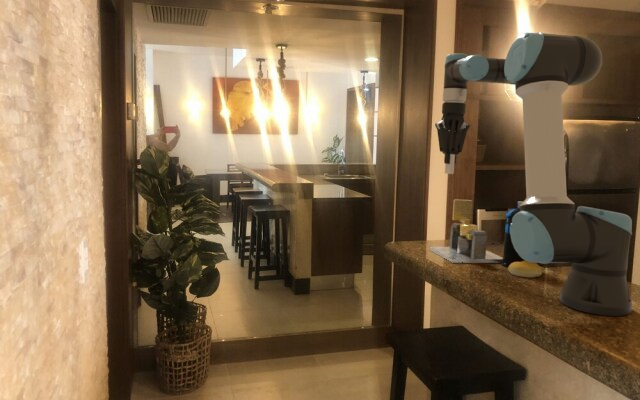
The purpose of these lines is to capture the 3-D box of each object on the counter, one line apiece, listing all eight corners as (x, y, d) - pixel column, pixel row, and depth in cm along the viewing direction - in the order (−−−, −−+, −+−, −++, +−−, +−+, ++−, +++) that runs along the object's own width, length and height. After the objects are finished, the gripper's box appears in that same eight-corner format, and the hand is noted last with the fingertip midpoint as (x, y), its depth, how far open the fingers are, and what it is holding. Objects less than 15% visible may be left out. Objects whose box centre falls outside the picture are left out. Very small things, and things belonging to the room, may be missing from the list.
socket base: (505, 262, 168) (508, 232, 167) (452, 263, 164) (454, 232, 163) (478, 250, 185) (480, 223, 184) (429, 250, 182) (431, 222, 181)
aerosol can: (525, 263, 168) (531, 200, 165) (533, 270, 160) (539, 204, 157) (498, 262, 169) (504, 199, 166) (505, 268, 160) (510, 202, 158)
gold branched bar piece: (463, 240, 168) (465, 206, 166) (450, 229, 186) (453, 199, 185) (482, 240, 168) (485, 206, 166) (468, 230, 186) (470, 199, 185)
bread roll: (502, 272, 157) (503, 259, 156) (524, 270, 160) (526, 257, 160) (523, 279, 149) (524, 265, 149) (546, 277, 153) (548, 263, 152)
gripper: (445, 100, 170) (440, 174, 173) (477, 103, 176) (471, 174, 178) (431, 101, 176) (426, 172, 179) (461, 104, 182) (456, 172, 185)
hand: (449, 173), depth 179 cm, fingers closed
